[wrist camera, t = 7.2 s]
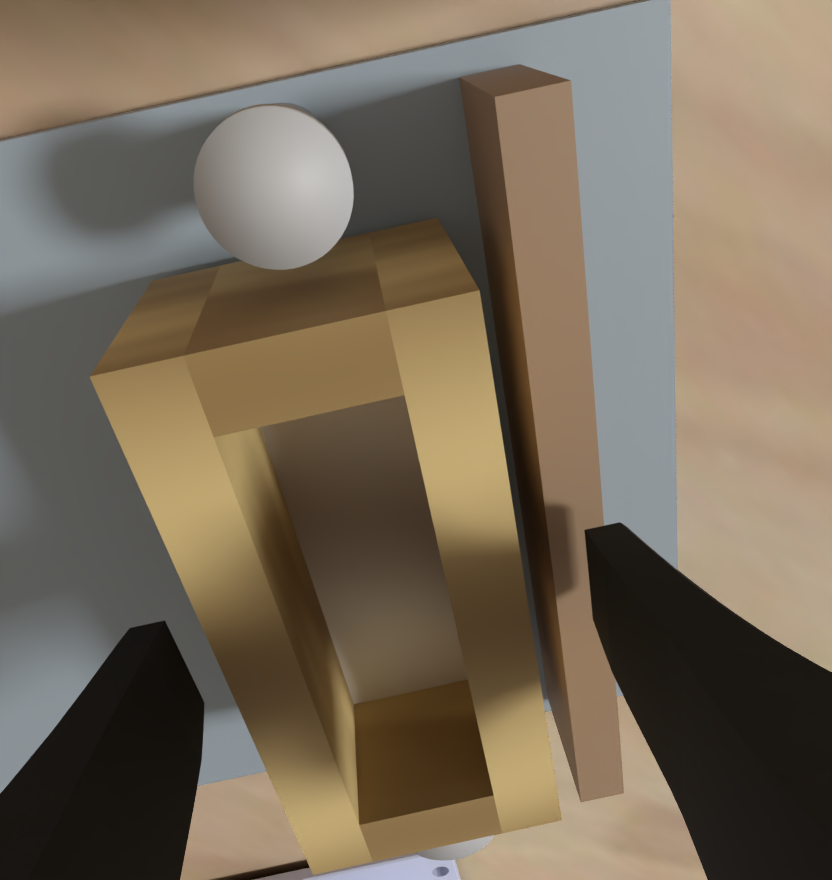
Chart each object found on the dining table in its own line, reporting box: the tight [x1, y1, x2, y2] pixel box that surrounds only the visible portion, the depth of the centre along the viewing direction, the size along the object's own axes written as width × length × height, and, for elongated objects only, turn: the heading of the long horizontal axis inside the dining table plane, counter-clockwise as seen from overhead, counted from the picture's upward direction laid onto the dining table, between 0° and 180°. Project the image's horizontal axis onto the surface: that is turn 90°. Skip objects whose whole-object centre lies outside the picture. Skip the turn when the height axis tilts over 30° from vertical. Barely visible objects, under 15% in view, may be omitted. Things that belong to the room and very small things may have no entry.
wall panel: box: [0, 0, 678, 861], centre depth 15 cm, size 16×26×4 cm, turn 101°
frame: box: [89, 218, 562, 875], centre depth 14 cm, size 11×5×4 cm, turn 11°
